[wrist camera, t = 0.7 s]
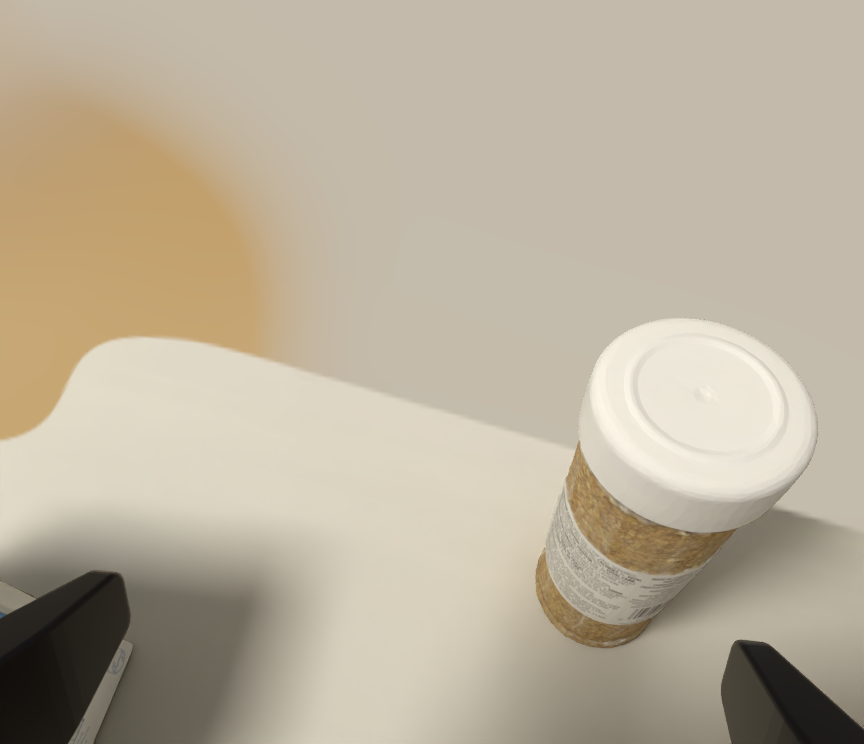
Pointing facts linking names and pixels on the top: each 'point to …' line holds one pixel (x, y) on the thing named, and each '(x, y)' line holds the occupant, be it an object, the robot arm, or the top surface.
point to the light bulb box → (9, 598)
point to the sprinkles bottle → (668, 471)
